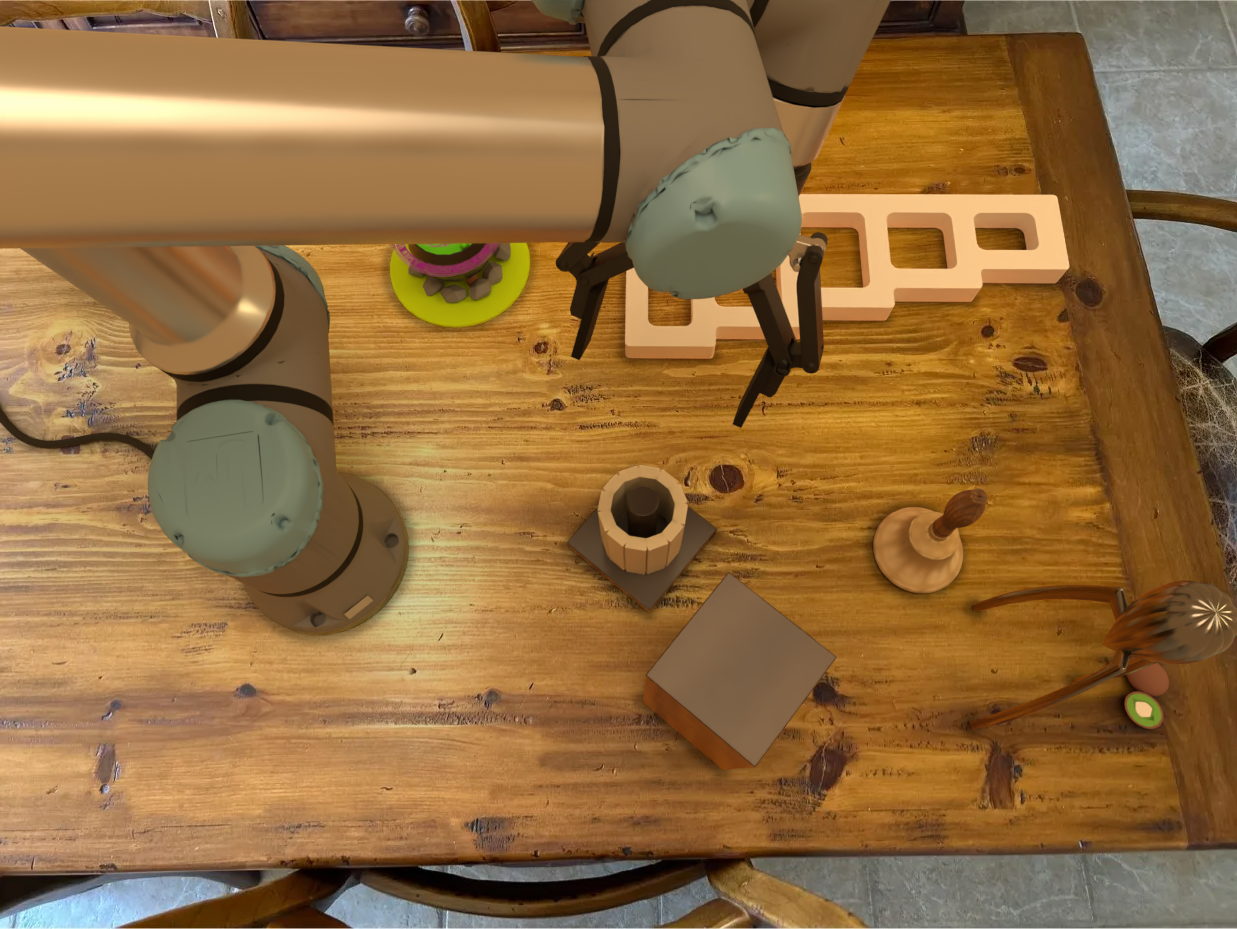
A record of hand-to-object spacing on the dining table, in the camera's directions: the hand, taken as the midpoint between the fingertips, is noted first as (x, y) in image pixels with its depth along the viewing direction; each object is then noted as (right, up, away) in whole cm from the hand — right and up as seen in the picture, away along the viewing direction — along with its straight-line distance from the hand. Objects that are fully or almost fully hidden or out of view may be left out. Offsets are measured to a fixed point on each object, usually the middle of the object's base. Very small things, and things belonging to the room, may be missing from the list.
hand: (660, 382), depth 70 cm
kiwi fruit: (+43, -26, +8) cm, 51 cm away
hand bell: (+25, -14, +13) cm, 32 cm away
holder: (+20, +13, +23) cm, 33 cm away
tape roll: (-1, -13, +13) cm, 18 cm away
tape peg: (-1, -14, +14) cm, 20 cm away
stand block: (+5, -27, +9) cm, 29 cm away
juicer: (+31, -26, +9) cm, 41 cm away
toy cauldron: (-20, +15, +25) cm, 35 cm away
